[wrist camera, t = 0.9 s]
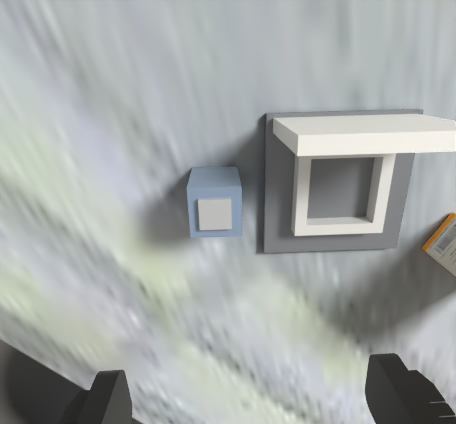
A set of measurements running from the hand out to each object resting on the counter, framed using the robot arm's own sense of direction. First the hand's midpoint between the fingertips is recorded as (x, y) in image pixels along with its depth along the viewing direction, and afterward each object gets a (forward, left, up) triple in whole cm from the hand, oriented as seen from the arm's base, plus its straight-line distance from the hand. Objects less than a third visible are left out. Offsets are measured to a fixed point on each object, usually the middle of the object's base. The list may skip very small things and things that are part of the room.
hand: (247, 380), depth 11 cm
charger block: (0, -1, -21) cm, 21 cm away
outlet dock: (0, +10, -21) cm, 23 cm away
